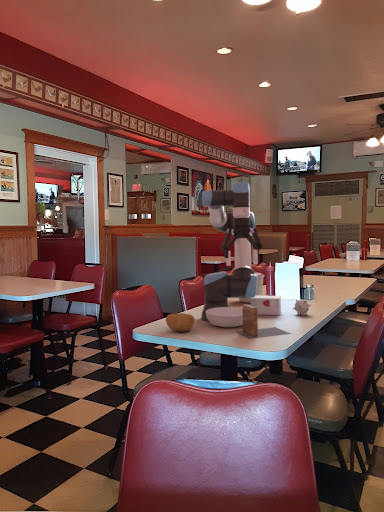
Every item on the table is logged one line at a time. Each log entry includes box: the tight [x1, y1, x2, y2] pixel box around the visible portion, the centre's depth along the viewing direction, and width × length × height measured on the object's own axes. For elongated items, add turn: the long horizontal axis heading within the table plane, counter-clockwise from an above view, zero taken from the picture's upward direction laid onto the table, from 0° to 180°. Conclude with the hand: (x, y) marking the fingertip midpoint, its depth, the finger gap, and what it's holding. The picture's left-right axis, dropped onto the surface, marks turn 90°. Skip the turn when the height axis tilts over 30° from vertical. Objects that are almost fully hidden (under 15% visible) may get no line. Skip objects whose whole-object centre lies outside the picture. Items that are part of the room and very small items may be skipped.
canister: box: [238, 267, 265, 304], centre depth 253 cm, size 18×18×21 cm
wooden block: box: [241, 303, 259, 337], centre depth 171 cm, size 2×9×12 cm, turn 20°
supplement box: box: [250, 295, 282, 316], centre depth 216 cm, size 9×9×15 cm
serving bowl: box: [205, 306, 243, 328], centre depth 189 cm, size 21×21×7 cm
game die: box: [292, 298, 311, 316], centre depth 211 cm, size 9×8×10 cm
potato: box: [165, 312, 196, 333], centre depth 181 cm, size 10×14×8 cm
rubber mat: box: [235, 326, 292, 340], centre depth 174 cm, size 20×13×1 cm, turn 110°
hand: (242, 264), depth 183 cm, fingers open, 13 cm apart
